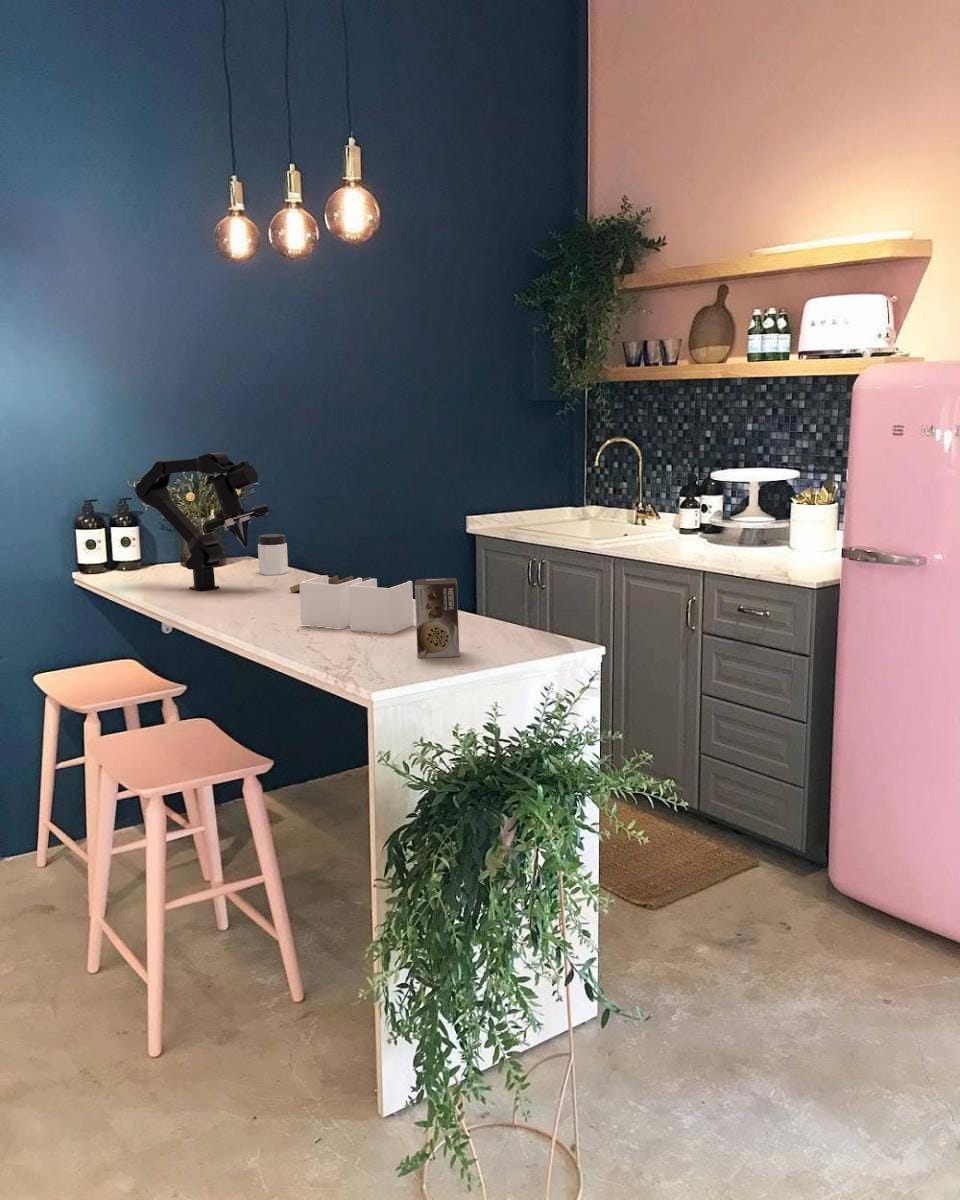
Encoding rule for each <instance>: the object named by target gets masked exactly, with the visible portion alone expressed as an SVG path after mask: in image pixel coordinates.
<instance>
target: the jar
mask: <svg viewBox="0 0 960 1200" xmlns="http://www.w3.org/2000/svg"><path fill="white" fill-rule="evenodd" d="M257 554H258V555H257V556H258V570H259V571H258V573H259V574H261V575H263V574H264V575H263V576H280V575H285V574H287V573H289V563H288V561H289V560H288V544H287V542H286V535H285V534H283V533H266V534H261V535H259V536H258V544H257Z"/></svg>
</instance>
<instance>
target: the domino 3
mask: <svg viewBox="0 0 960 1200" xmlns="http://www.w3.org/2000/svg"><path fill="white" fill-rule="evenodd" d="M339 580H340V581H338V582H336V583H333V584H334V585H338V584H342V583H345V582H349V581H352V580H355V578H354V576H353V575H350V576H348V577H345V578H342V579H339Z"/></svg>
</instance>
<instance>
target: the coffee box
mask: <svg viewBox="0 0 960 1200" xmlns="http://www.w3.org/2000/svg"><path fill="white" fill-rule="evenodd" d="M414 595H415V597H414V598H415V599H414V600H415V621H416V624H415V625H416V627H415V628H416V650H417V654H416V657H417V659H423V658H424V659H425V658H426V659H427V658H455V657H457V658H458V657H460V637H459V634H460V633H459V631H460V630H459V629H460V628H459V605H458V602H459V601H458V582H457V578H456V577H454V578H453V577H452V578H448V577H447V578H444V577H443V578H419V579H415V581H414Z"/></svg>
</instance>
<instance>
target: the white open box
mask: <svg viewBox="0 0 960 1200" xmlns="http://www.w3.org/2000/svg"><path fill="white" fill-rule="evenodd" d="M320 576H321V575H320ZM316 577H317V578H316ZM316 577H314V579H313V578H310V579H307V580H304V581H300V582H299V583H298V584H300V590H299V602H300V605H299V606H300V621H301V623H300V624H301V625H310V626H321V627H331V628H339V629H340V628H343V627H345V628H347V627H346V626H348V627H350V631H351V630H358V631H357V632H362V631H368V632H367V633H373V632H377V633H376V634H384V633H387V635H392V634H395V633H397V632H400V631H402V630H405V629H408V628H409V627H412V626H414V601H413V600H414V599H413V595H414V594H413V591H414V590H413V581H412V580H407V582H404V583H401V584H398V585H395V586H392V587H389V588H388V587H378V581H377V580H378V579H377V578H371V579H370V580H367V581H363V582H362V579H363V578H362V577H357V578H354V580H352V581H349V582H345V583H342V584H338V585H334V584H328V579H329V575H323V576H321V577H318V576H316ZM349 625H351V626H349ZM339 629H338V630H339ZM343 629H344V628H343ZM340 630H341V629H340Z"/></svg>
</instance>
